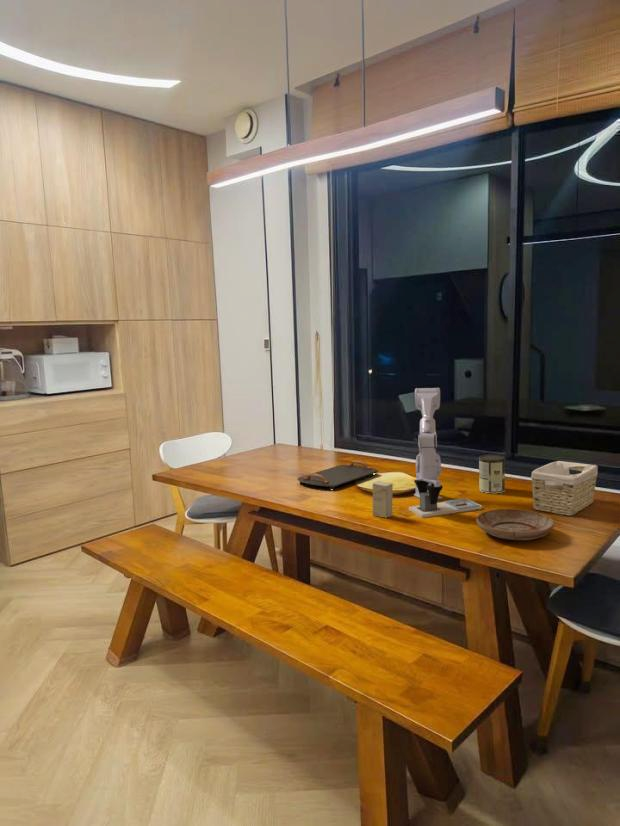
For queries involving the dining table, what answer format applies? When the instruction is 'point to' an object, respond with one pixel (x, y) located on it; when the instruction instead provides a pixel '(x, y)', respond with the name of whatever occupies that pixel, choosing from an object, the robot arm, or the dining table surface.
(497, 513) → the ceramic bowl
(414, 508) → the two-tone slotted frame
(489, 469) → the coffee can
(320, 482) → the serving board
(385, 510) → the skincare box
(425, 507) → the plug
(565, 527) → the dining table surface
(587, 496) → the storage basket
